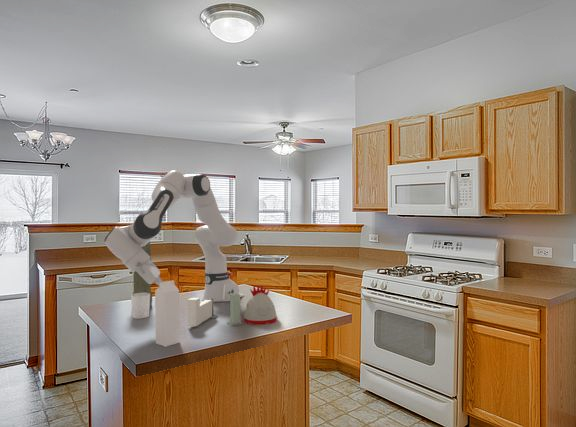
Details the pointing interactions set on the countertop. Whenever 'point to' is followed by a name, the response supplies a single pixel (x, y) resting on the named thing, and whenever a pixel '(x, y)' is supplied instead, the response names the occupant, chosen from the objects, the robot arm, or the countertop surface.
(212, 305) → the hinge post
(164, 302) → the milk
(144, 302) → the white cup
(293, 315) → the countertop surface
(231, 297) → the latch post
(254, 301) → the kitchen timer
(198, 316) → the cream l-shaped block
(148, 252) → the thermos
